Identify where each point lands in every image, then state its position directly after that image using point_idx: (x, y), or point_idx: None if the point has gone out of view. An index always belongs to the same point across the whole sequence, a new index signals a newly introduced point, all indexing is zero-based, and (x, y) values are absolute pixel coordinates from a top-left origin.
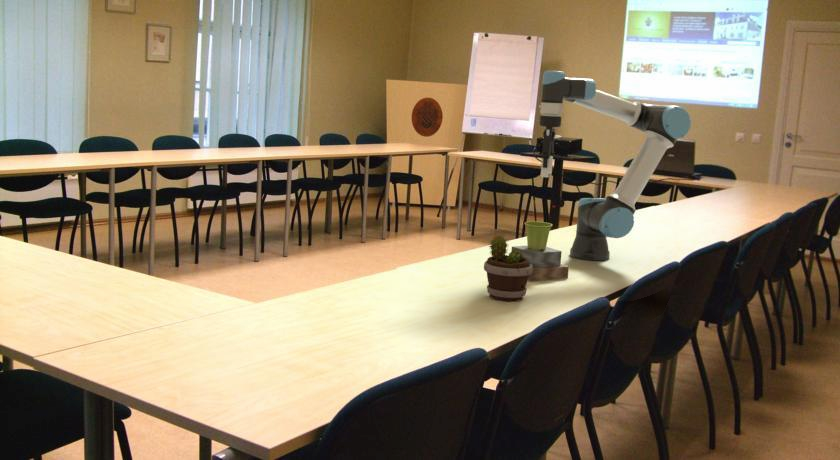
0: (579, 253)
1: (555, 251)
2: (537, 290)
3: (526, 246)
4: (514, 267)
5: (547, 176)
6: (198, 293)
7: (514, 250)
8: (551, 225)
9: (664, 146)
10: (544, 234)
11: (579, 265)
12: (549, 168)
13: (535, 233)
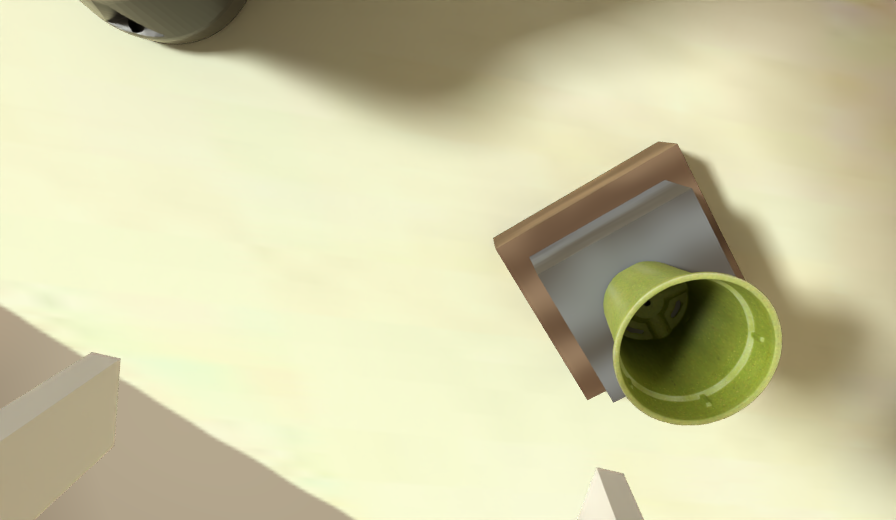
0: (228, 5)
1: (703, 220)
2: (872, 292)
3: (597, 339)
4: None
5: (623, 490)
6: None
7: None
8: (746, 283)
9: None
10: (733, 304)
11: (390, 38)
12: (62, 431)
13: (732, 352)
